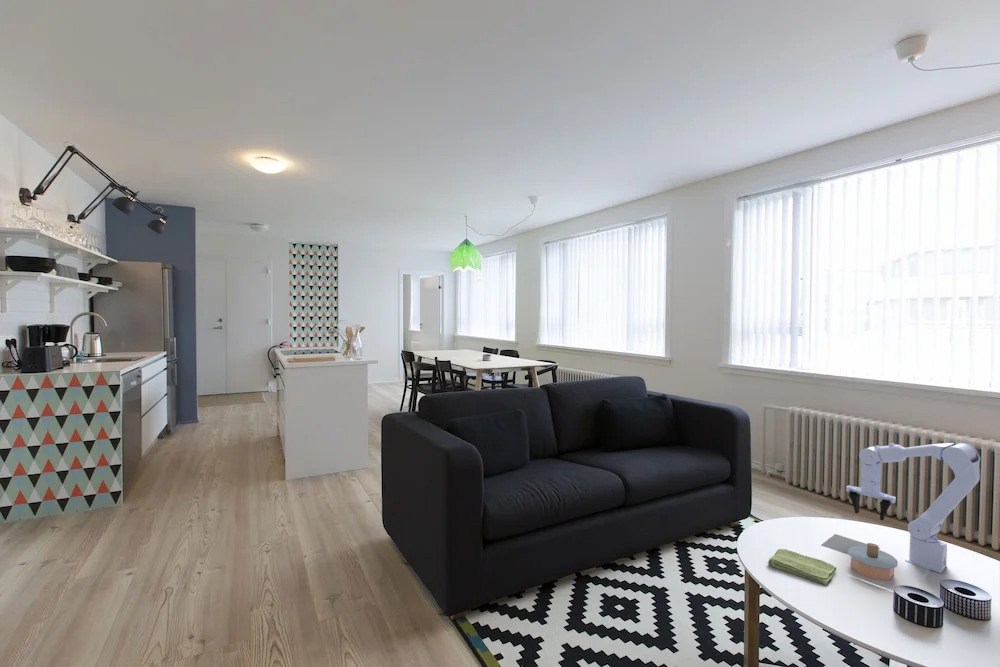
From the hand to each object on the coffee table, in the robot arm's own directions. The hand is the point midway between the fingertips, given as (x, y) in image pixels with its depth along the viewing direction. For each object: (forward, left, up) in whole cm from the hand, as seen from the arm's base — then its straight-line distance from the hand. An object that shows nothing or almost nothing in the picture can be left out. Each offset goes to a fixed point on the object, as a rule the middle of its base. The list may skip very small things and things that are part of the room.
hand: (869, 515), depth 181 cm
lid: (-7, +22, -6) cm, 24 cm away
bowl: (-7, +22, -10) cm, 25 cm away
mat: (+3, +9, -10) cm, 14 cm away
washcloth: (+8, +38, -11) cm, 41 cm away
